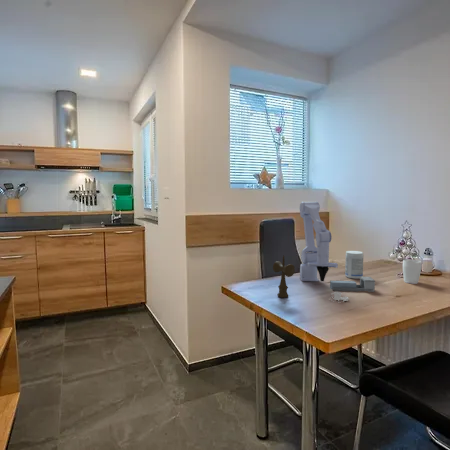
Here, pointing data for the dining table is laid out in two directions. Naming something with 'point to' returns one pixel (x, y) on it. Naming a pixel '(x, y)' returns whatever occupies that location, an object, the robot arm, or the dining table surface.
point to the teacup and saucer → (339, 296)
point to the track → (365, 285)
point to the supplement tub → (354, 264)
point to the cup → (411, 270)
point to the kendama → (283, 276)
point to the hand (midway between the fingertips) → (322, 280)
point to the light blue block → (343, 284)
